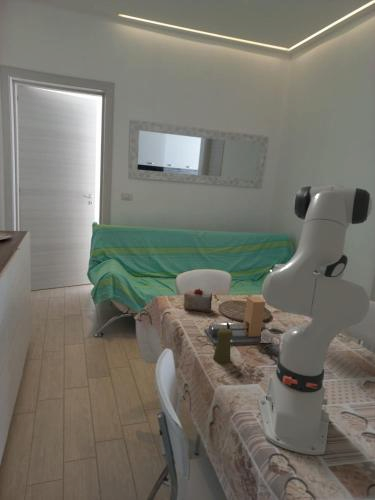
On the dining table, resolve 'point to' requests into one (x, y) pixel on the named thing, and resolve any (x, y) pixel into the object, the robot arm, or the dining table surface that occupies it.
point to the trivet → (238, 310)
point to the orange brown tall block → (254, 315)
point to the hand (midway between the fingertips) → (276, 276)
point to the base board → (237, 338)
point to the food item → (197, 301)
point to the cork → (223, 346)
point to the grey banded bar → (230, 327)
